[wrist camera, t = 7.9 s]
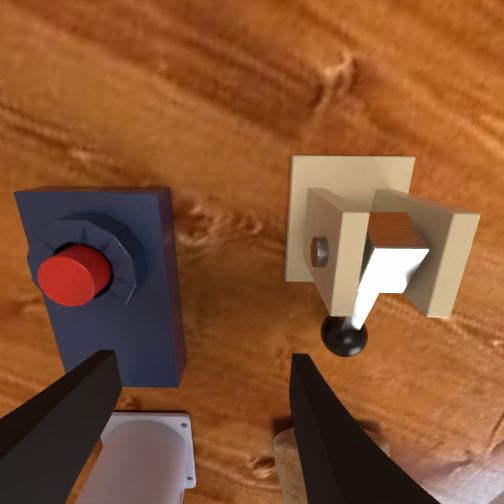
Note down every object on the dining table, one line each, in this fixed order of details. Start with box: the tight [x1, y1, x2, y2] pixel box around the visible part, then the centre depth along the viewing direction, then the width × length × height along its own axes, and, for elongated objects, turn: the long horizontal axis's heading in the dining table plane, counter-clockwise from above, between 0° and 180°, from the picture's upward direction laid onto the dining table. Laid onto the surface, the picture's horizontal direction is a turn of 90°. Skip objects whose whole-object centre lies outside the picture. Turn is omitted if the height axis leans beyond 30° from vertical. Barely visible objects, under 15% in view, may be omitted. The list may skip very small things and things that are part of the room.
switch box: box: [284, 155, 480, 317], centre depth 14 cm, size 8×7×8 cm
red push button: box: [38, 245, 111, 307], centre depth 14 cm, size 3×3×2 cm
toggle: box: [321, 212, 430, 357], centre depth 15 cm, size 10×3×3 cm, turn 0°
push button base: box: [14, 187, 186, 388], centre depth 18 cm, size 14×8×4 cm, turn 0°
